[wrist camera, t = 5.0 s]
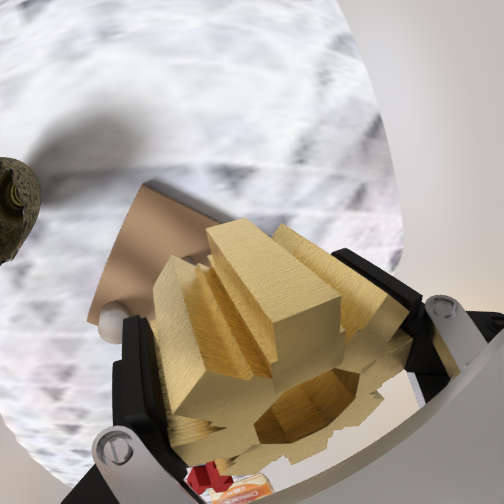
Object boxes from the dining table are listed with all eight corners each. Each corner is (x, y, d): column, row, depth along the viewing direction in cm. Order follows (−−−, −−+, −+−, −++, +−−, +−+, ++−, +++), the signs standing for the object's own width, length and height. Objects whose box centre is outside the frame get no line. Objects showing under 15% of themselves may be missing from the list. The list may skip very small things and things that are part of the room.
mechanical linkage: (216, 477, 47) (223, 494, 43) (186, 479, 44) (191, 497, 40) (238, 446, 43) (247, 467, 39) (201, 449, 40) (209, 471, 36)
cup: (45, 133, 17) (1, 135, 10) (71, 212, 20) (41, 247, 13) (-16, 172, 15) (-66, 191, 8) (11, 243, 19) (-28, 285, 12)
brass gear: (123, 252, 8) (112, 372, 4) (315, 199, 10) (431, 252, 5) (184, 389, 11) (216, 491, 6) (321, 338, 12) (387, 412, 8)
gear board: (142, 183, 22) (139, 202, 15) (287, 256, 29) (324, 290, 23) (88, 314, 24) (78, 365, 18) (221, 355, 32) (241, 401, 26)
